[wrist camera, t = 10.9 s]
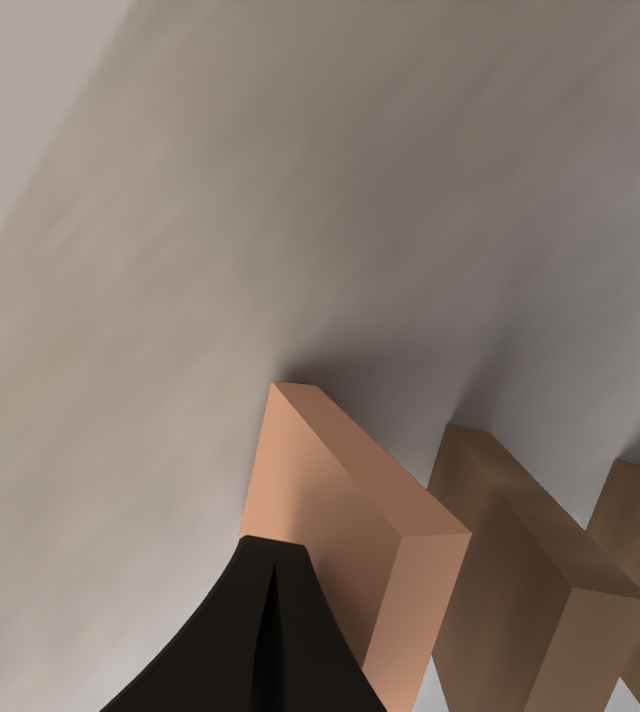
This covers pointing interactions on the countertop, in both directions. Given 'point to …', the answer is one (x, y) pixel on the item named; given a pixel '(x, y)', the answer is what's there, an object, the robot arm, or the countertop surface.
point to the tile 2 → (525, 592)
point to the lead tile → (357, 534)
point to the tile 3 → (621, 540)
